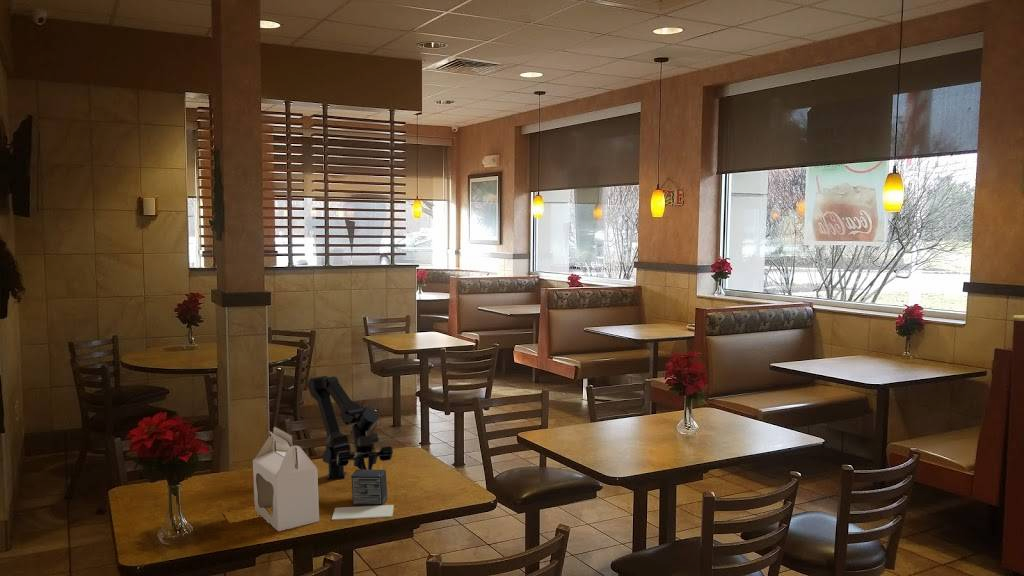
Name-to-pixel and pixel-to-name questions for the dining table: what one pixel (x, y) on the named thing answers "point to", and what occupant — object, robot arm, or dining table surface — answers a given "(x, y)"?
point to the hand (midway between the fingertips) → (368, 477)
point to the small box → (369, 487)
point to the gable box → (285, 483)
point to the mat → (363, 512)
